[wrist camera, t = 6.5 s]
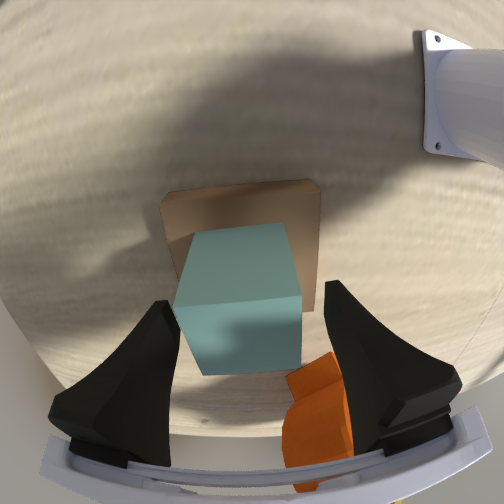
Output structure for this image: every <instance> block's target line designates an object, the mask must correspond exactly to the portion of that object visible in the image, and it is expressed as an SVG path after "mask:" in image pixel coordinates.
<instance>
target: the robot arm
mask: <svg viewBox="0 0 504 504" xmlns="http://www.w3.org/2000/svg"><path fill="white" fill-rule="evenodd" d="M434 37H436V39H437V42H436V40H435V38H434ZM422 41H423V52H424V67H425V125H424V141H423V146H424V149H425V150H426V151H427V152H430V153H434V154H442V155H449V156H455V157H462V158H468V159H473V160H479V161H484V162H487V163H489V164H491V165H493V166H495V167H497V168H499V169H501V170H503V171H504V50H496V49H474V48H472V47H470V46H468V45H465V44H463V43H461V42H459V41H457V40H455V39H452V38H450V37H448V36H445V35H443V34H440V33H438V32H435V31H432V30H429V29H427V30H423V32H422ZM436 143H438V146H437V148H435V145H436ZM324 318H325V323H326V327H327V332H328V335H329V338H330V341H331V344H332V347H333V350H334V353H335V356H336V359H337V362H338V365H339V368H340V371H341V374H342V378H343V382H344V387H345V392H346V397H347V403H348V409H349V415H350V422H351V430H352V439H353V450H354V456H353V457H349V458H345V459H340V460H335V461H330V462H325V463H320V464H314V465H307V466H300V467H292V468H283V469H272V470H257V471H205V470H190V469H179V468H170V466H171V458H170V446H169V406H170V393H171V386H172V381H173V376H174V371H175V366H176V362H177V357H178V352H179V344H180V331H181V329H180V327H179V325H178V323H177V321H176V318H175V316H174V314H173V312H172V309H171V307H170V305H169V303H168V300H162V301H155V303H154V304H153V305H152V306H151V307H150V309H149V310H148V311H147V312H146V314H145V315H144V316H143V318H142V319H141V320H140V321H139V323H138V324H137V325H136V326H135V328H134V329H133V330H132V331H131V333H130V334H129V335H128V336H127V337H126V338H125V340H124V341H123V342H122V343H121V344H120V345H119V347H118V348H117V349H116V350H115V351H114V352H113V353H112V354H111V355H110V356H109V357H108V358H107V359H106V360H105V361H104V362H103V363H102V364H100V365H99V366H98V367H97V368H96V369H94V370H93V371H92V372H91V373H90V374H88V375H87V376H86V377H84V378H83V379H82V380H80V381H79V382H77V383H76V384H75V385H73V386H71V387H70V388H68V389H66V390H65V391H63V392H61V393H60V394H58V395H56V396H55V398H54V400H53V403H52V406H51V409H50V412H49V414H48V419H49V421H50V422H51V423H52V424H53V425H55V426H56V427H57V428H59V429H60V430H62V431H63V432H64V433H66V434H67V435H69V436H70V437H72V438H71V442H69V441H67V440H64V439H62V438H60V437H57V436H54V435H52V434H50V435H49V437H48V441H47V444H46V448H45V452H44V455H43V459H42V463H41V467H40V472H39V473H40V475H42V476H43V477H45V478H47V479H49V480H51V481H53V482H55V483H57V484H59V485H61V486H63V487H65V488H67V489H69V490H72V491H74V492H76V493H78V494H81V495H83V496H86V497H88V498H90V499H92V500H95V501H98V502H100V503H103V504H391V503H393V502H396V501H399V500H401V499H404V498H406V497H408V496H411V495H413V494H416V493H418V492H420V491H422V490H424V489H427V488H429V487H431V486H433V485H435V484H437V483H438V482H441V481H443V480H445V479H446V478H448V477H450V476H452V475H454V474H455V473H457V472H459V471H461V470H462V469H464V468H466V467H467V466H469V465H471V464H472V463H474V462H476V461H477V460H479V459H480V458H482V457H483V456H485V455H486V454H488V453H489V452H491V451H492V449H493V447H492V445H491V441H490V438H489V436H488V433H487V430H486V427H485V425H484V422H483V420H482V417H481V415H480V412H479V410H478V407H477V405H474V406H472V407H470V408H468V409H466V410H464V411H463V412H460V413H459V414H457V415H455V416H454V417H452V418H450V416H449V413H450V412H451V408H450V405H449V403H450V402H451V401H452V400H453V399H454V398H455V396H456V395H457V394H458V393H459V392H460V390H461V388H462V385H463V384H462V382H461V380H460V377H459V375H458V373H457V371H456V370H455V368H454V366H453V365H450V364H448V363H446V362H443V361H441V360H438V359H436V358H434V357H432V356H430V355H428V354H426V353H424V352H422V351H420V350H419V349H417V348H415V347H414V346H412V345H410V344H409V343H407V342H406V341H404V340H403V339H401V338H400V337H398V336H397V335H395V334H394V333H393V332H392V331H390V330H389V329H388V328H386V327H385V326H384V325H383V324H382V323H381V322H379V321H378V320H377V319H376V318H375V317H374V316H373V315H372V314H371V313H370V312H369V311H368V310H367V309H366V308H365V307H364V306H363V305H361V304H360V302H359V301H358V300H357V299H356V298H355V297H354V296H353V295H352V294H351V293H350V292H349V291H348V290H347V288H346V287H345V286H344V285H343V284H342V283H341V282H340V281H339V280H334V281H327V282H325V298H324ZM340 476H341V477H340ZM335 477H337V478H335ZM330 478H334V479H330ZM325 479H330V480H326V481H323V482H320V483H319V484H318V485H319V487H317V488H316V491H312V492H304V493H294V494H281V495H263V496H219V495H199V494H197V493H196V492H193V491H189V490H185V489H183V488H181V487H179V486H175V485H170V484H165V483H160V482H158V481H161V482H167V483H174V484H182V485H192V486H206V487H233V488H236V487H237V488H240V487H268V486H281V485H291V484H299V483H306V482H313V481H319V480H325Z"/></svg>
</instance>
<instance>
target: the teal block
mask: <svg viewBox="0 0 504 504" xmlns="http://www.w3.org/2000/svg"><path fill="white" fill-rule="evenodd" d="M172 308H173V310H174V313H175V315H176V318H177V320H178V322H179V325H180V327H181V329H182V332H183V334H184V336H185V338H186V341H187V343H188V345H189V347H190V350H191V352H192V354H193V356H194V358H195V360H196V362H197V365H198V367H199V369H200V371H201V373H202V375H203V376H204V375H232V374H248V373H261V372H272V371H281V370H290V369H298V368H301V347H302V293H301V289H300V284H299V280H298V276H297V272H296V269H295V265H294V261H293V257H292V253H291V249H290V245H289V242H288V238H287V234H286V230H285V227H284V223H283V222H280V223H270V224H261V225H252V226H243V227H235V228H226V229H218V230H210V231H202V232H195V234H194V237H193V240H192V244H191V247H190V250H189V253H188V256H187V259H186V262H185V266H184V269H183V272H182V276H181V279H180V282H179V286H178V289H177V292H176V296H175V299H174V303H173V306H172Z"/></svg>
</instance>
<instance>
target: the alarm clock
mask: <svg viewBox="0 0 504 504" xmlns="http://www.w3.org/2000/svg"><path fill="white" fill-rule="evenodd" d="M285 377H286V379H287V382H288V384H289V387H290V389H291V392H292V395H293V397H294V400H295V403H294V404H293V405H292V406H291V407H290V409H289V410H288V411H287V414H286V417H285V420H284V423H283V426H282V452H283V457H284V462H285V466H286V468H292V467H300V466H307V465H314V464H320V463H325V462H330V461H335V460H340V459H345V458H349V457H353V456H354V450H353V439H352V430H351V422H350V415H349V409H348V403H347V397H346V392H345V387H344V382H343V378H342V374H341V371H340V368H339V365H338V362H337V359H336V356H335V354H334V353H332V352H329V353H328V354H326V355H324V356H322V357H321V358H319V359H317V360H315V361H313V362H312V363H310V364H308V365H306V366H304V367H302V368H301V369H299V370H297V371H295V372H293V373H291V374H289V375H287V376H285ZM340 477H341V476H340ZM335 478H337V477H335ZM330 479H334V478H330ZM330 479H325V480H319V481H313V482H306V483H299V484H293V486H294V488H295V490H296V491H297V493H304V492H312V491H316V488H317V487H319V485H318V484H319V483H320V482H323V481H326V480H330ZM402 501H403V499H401V500H399V501H396V502H393V503H391V504H401V503H402Z"/></svg>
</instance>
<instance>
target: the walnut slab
mask: <svg viewBox="0 0 504 504" xmlns="http://www.w3.org/2000/svg"><path fill="white" fill-rule="evenodd" d="M320 200H321V192H320V190H319V189H318V187H317V186H316V185H315V183H314V182H313V180H312V179H307V180H288V181H273V182H260V183H248V184H237V185H227V186H217V187H208V188H199V189H191V190H184V191H176V192H169V193H168V194H167V195H166V197H165V198H164V200H163V201H162V202H161V204H160V205H159V210H160V214H161V218H162V222H163V226H164V230H165V234H166V238H167V241H168V245H169V249H170V253H171V256H172V260H173V263H174V267H175V270H176V274H177V277H178V280H179V282H180V279H181V276H182V272H183V269H184V266H185V262H186V259H187V256H188V253H189V250H190V247H191V244H192V240H193V237H194V234H195V232H202V231H210V230H218V229H226V228H235V227H243V226H252V225H261V224H270V223H280V222H283V223H284V227H285V230H286V234H287V238H288V242H289V245H290V249H291V253H292V257H293V261H294V265H295V269H296V272H297V276H298V280H299V284H300V289H301V293H302V312H310V311H314V304H315V292H316V280H317V266H318V250H319V230H320Z"/></svg>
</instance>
